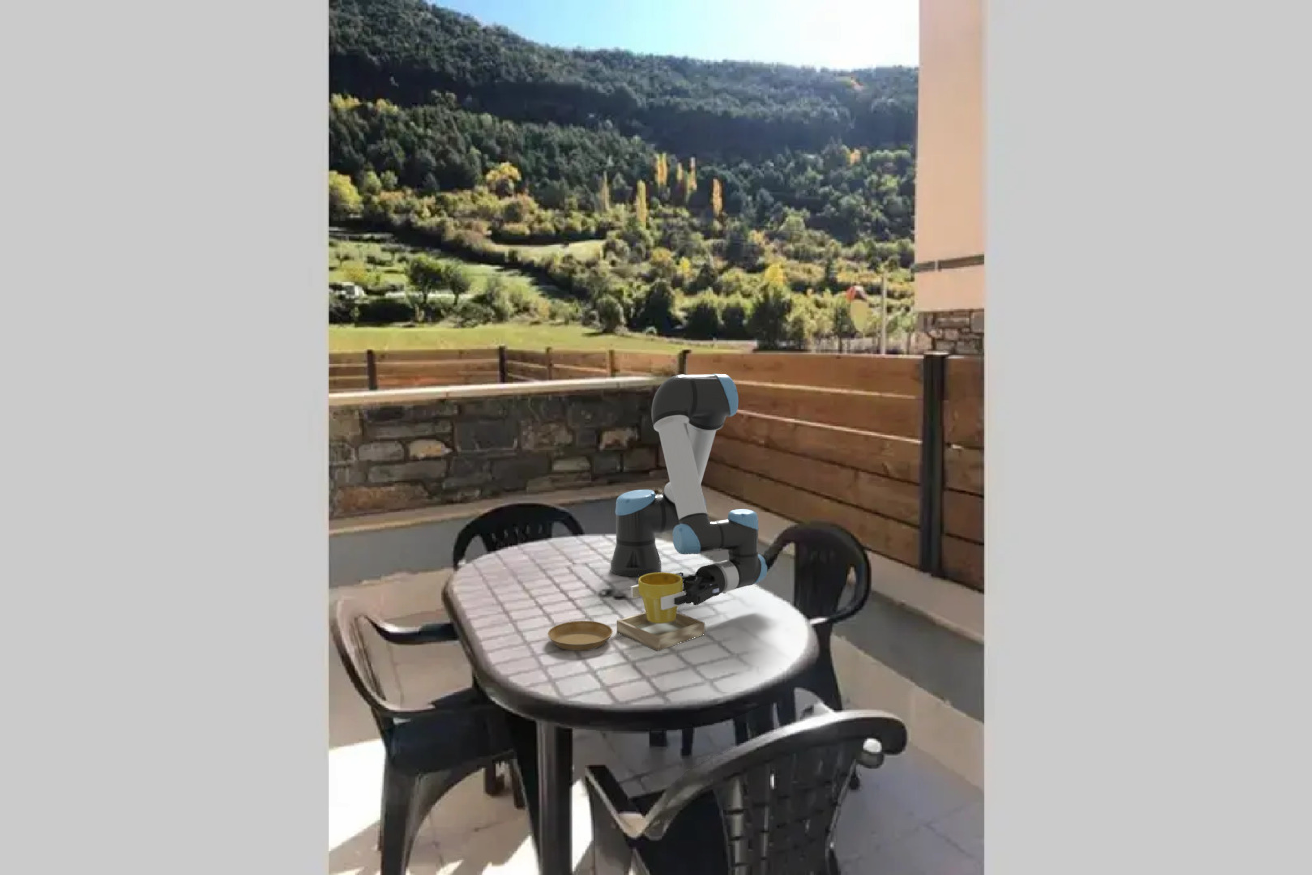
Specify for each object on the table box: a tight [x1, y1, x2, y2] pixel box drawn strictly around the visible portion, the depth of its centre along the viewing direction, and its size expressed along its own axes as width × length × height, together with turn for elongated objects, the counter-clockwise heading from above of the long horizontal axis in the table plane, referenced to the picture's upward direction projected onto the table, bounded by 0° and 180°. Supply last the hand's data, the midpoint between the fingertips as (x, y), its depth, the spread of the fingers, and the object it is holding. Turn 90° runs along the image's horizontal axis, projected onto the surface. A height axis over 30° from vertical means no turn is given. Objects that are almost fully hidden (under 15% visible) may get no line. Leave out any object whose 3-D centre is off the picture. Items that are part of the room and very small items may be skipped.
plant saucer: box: [547, 620, 614, 652], centre depth 183 cm, size 15×15×3 cm
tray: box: [616, 611, 706, 652], centre depth 187 cm, size 15×15×3 cm
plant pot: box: [637, 571, 684, 624], centre depth 186 cm, size 10×10×10 cm
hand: (646, 597), depth 183 cm, fingers closed on plant pot, 10 cm apart
